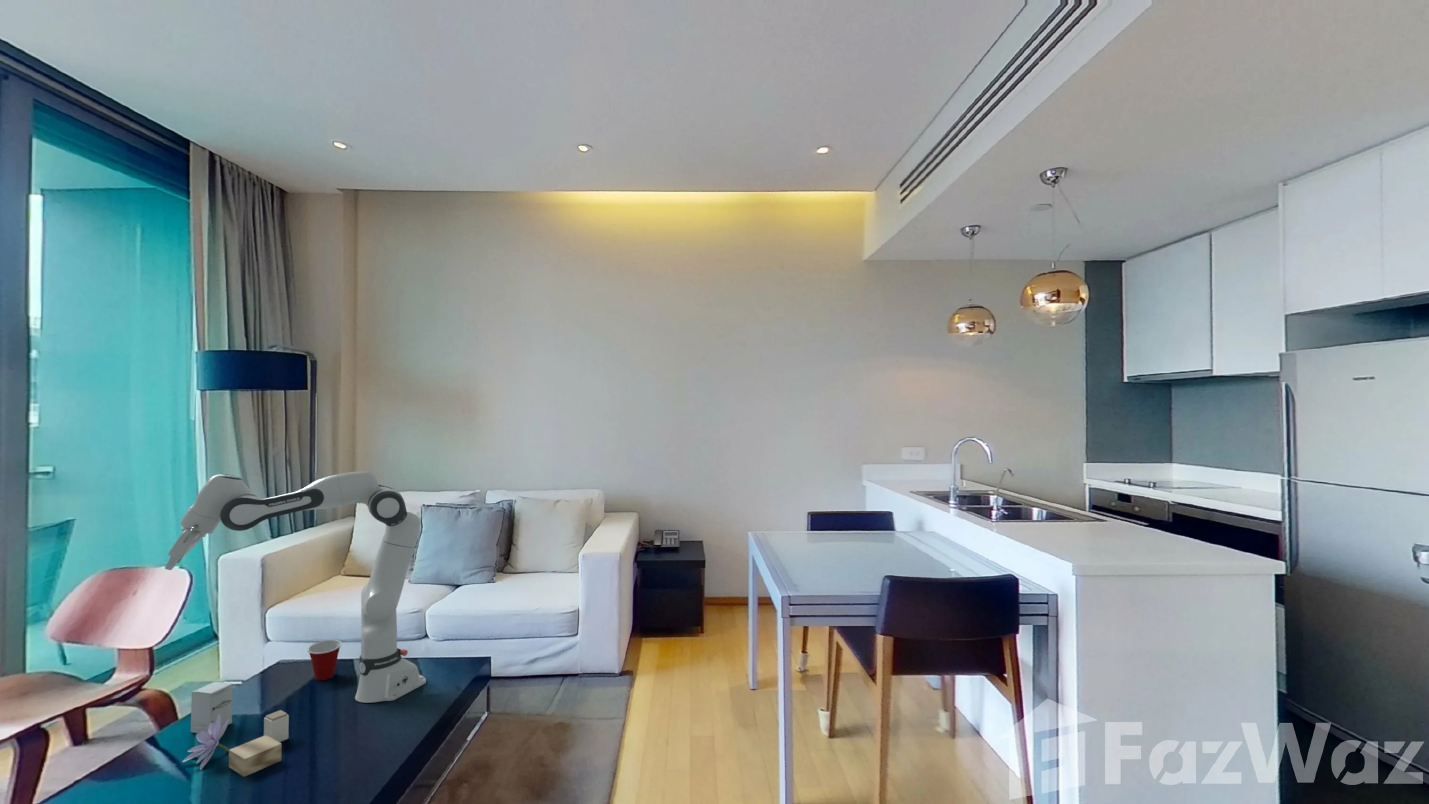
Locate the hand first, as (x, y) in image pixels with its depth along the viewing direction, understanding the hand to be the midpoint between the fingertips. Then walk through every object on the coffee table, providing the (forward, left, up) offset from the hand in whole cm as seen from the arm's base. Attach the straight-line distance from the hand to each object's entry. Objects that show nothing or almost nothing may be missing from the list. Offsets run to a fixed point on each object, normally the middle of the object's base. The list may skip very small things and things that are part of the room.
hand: (171, 565), depth 184 cm
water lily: (-1, +22, -52) cm, 57 cm away
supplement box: (-9, +3, -52) cm, 53 cm away
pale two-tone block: (-16, +28, -52) cm, 61 cm away
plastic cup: (-46, -5, -52) cm, 70 cm away
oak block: (-7, +37, -52) cm, 65 cm away
